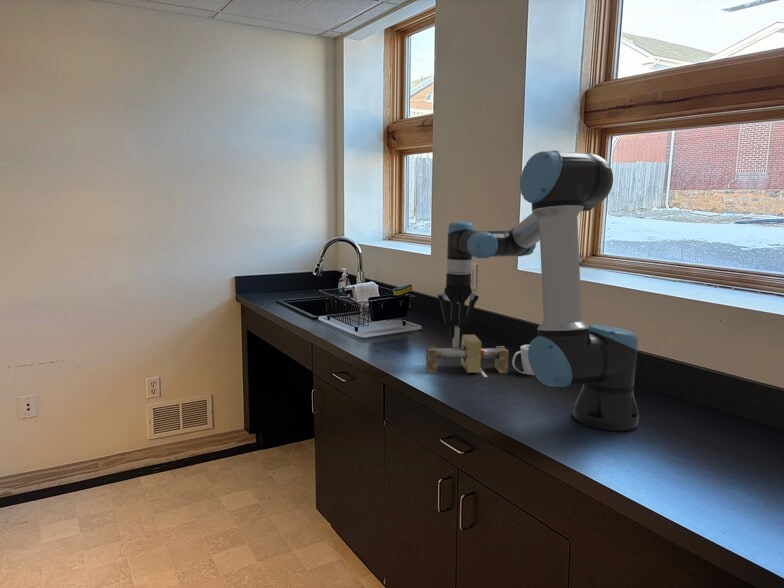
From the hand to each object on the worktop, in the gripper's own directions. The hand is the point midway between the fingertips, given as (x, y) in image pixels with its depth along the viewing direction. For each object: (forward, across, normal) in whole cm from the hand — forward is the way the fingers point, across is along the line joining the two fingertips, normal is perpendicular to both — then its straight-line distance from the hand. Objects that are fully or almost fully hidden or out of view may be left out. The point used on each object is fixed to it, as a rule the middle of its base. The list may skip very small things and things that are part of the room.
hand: (455, 347), depth 189 cm
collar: (+6, -4, +4) cm, 9 cm away
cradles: (+6, -3, +4) cm, 8 cm away
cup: (+7, -21, +8) cm, 23 cm away
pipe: (+3, -3, +4) cm, 6 cm away
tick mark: (+6, -7, +4) cm, 11 cm away
